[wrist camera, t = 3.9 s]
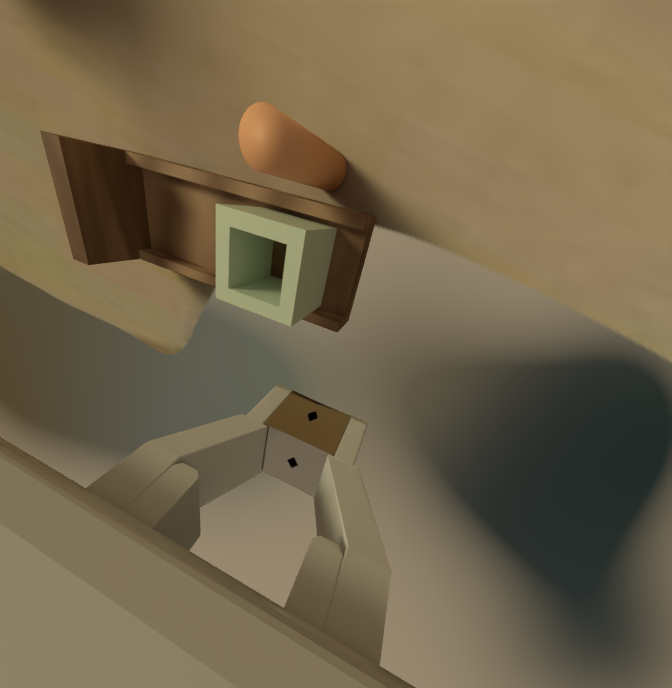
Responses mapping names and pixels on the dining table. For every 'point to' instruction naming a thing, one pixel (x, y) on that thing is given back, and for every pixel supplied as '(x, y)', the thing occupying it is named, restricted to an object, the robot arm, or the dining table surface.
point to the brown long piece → (186, 217)
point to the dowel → (288, 149)
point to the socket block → (256, 256)
